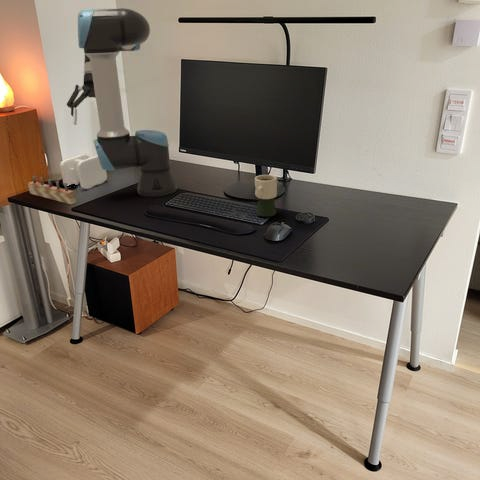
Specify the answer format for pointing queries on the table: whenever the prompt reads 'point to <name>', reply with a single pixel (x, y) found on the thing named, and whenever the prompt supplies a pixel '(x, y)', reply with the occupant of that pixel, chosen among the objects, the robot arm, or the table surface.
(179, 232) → the table surface
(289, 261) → the table surface
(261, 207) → the character mug
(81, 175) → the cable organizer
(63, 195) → the comb rail
